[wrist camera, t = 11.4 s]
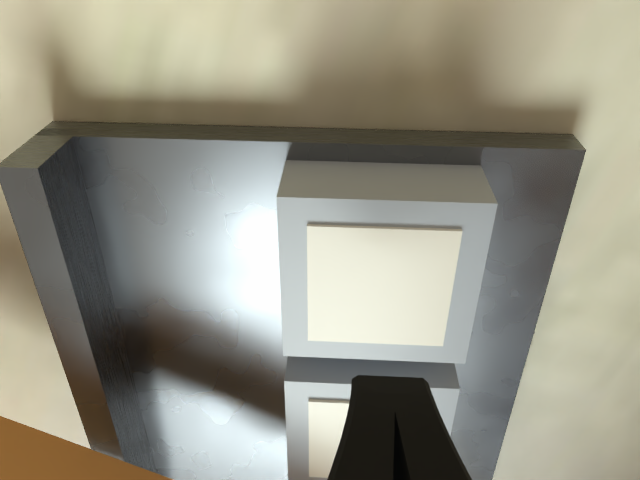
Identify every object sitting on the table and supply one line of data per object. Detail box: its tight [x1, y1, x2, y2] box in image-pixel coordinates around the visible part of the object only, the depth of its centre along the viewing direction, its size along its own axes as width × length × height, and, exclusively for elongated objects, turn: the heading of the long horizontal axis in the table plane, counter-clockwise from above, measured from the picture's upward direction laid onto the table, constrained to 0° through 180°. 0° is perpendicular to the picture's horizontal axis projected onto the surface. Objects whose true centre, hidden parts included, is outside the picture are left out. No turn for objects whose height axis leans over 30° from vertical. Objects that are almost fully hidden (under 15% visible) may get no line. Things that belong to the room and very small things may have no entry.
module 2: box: [284, 356, 460, 480], centre depth 18 cm, size 5×5×2 cm
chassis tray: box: [0, 121, 586, 480], centre depth 18 cm, size 14×17×4 cm
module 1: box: [276, 160, 498, 364], centre depth 15 cm, size 5×5×2 cm
